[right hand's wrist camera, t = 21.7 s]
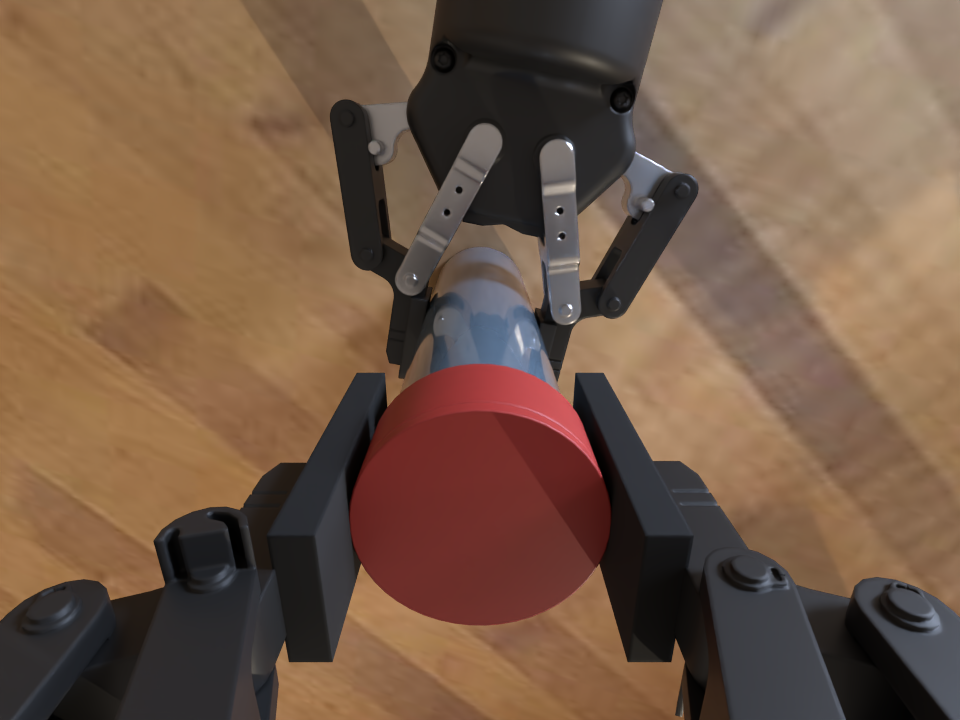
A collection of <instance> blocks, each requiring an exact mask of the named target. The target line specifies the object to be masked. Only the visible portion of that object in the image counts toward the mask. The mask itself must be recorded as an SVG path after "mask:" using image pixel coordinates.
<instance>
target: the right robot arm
mask: <svg viewBox="0 0 960 720" xmlns="http://www.w3.org/2000/svg"><path fill="white" fill-rule="evenodd" d="M386 409H387V397H386V383H385V373H357V374H356V375H355V377H354V379H353V381H352V383H351V384H350V386H349V388H348V390H347V392H346V393H345V395H344V397H343V399H342V401H341V402H340V404H339V406H338V408H337V409H336V411H335V413H334V415H333V417H332V418H331V420H330V422H329V424H328V426H327V427H326V429H325V431H324V433H323V435H322V436H321V438H320V440H319V442H318V444H317V445H316V447H315V449H314V451H313V453H312V454H311V456H310V458H309V460H308V462H307V463H280V464H278V465H277V466H276V467H274V468H273V469H272V470H270V471H269V472H267V473H266V474H265V475H263V476H262V478H261V479H260V481H259V482H258V484H257V485H256V487H255V488H254V490H253V491H252V495H250V496H249V497H248V499H247V500H246V501H245V503H244V507H243V508H241V509H240V510H237V509H233V508H229V507H210V508H206V509H202V510H198V511H194V512H191V513H189V514H187V515H184V516H182V517H180V518H178V519H176V520H174V521H173V522H172V523H170V524H169V525H168V526H166V527H165V528H164V529H162V530H161V532H160V533H159V534H158V536H157V537H156V538H155V540H154V545H155V549H156V552H157V556H158V559H159V563H160V567H161V570H162V574H163V577H164V581H165V586H164V587H163V588H160V589H156V590H153V591H149V592H145V593H141V594H136V595H132V596H128V597H123V598H119V599H115V600H111V601H110V598H109V595H108V592H107V589H106V588H105V587H104V586H103V585H102V584H101V583H99V582H98V581H92V580H85V579H83V580H76V581H69V582H64V583H61V584H58V585H55V586H52V587H50V588H47V589H44V590H42V591H41V592H39V593H37V594H35V595H33V596H31V597H30V598H28V599H26V600H24V601H23V602H22V603H20V604H19V605H18V606H17V607H16V608H14V609H13V610H12V611H11V612H9V613H8V614H7V615H6V616H5V617H4V618H3V619H2V620H1V621H0V720H275V719H276V708H277V697H278V686H279V683H278V676H277V670H276V665H275V663H276V661H277V658H278V656H279V653H280V651H281V648H282V646H283V643H284V641H285V642H286V648H287V653H288V659H289V662H333V658H334V655H335V651H336V648H337V645H338V641H339V638H340V634H341V631H342V627H343V624H344V620H345V617H346V613H347V610H348V607H349V603H350V600H351V596H352V593H353V589H354V586H355V582H356V579H357V575H358V572H359V568H360V565H361V562H360V560H359V558H358V556H357V554H356V551H355V549H354V546H353V543H352V538H351V532H350V522H349V504H350V499H351V495H352V491H353V487H354V485H355V482H356V480H357V477H358V474H359V472H360V469H361V466H362V464H363V461H364V458H365V456H366V453H367V450H368V448H369V445H370V442H371V440H372V437H373V434H374V432H375V429H376V427H377V425H378V422H379V420H380V418H381V417H382V415H383V413H384V412H385V410H386ZM573 409H574V410H575V411H576V413H577V414H578V416H579V418H580V420H581V422H582V424H583V426H584V429H585V431H586V434H587V436H588V439H589V442H590V444H591V447H592V450H593V452H594V455H595V458H596V460H597V463H598V466H599V468H600V471H601V474H602V476H603V479H604V482H605V484H606V487H607V490H608V493H609V498H610V503H611V526H610V535H609V540H608V543H607V547H606V550H605V552H604V554H603V557H602V559H601V561H600V563H599V564H600V567H601V571H602V574H603V578H604V581H605V585H606V588H607V592H608V595H609V599H610V602H611V605H612V609H613V612H614V616H615V619H616V623H617V626H618V630H619V633H620V637H621V640H622V643H623V647H624V650H625V654H626V657H627V661H628V662H671V661H672V655H673V650H674V644H675V638H676V640H677V642H678V645H679V647H680V650H681V652H682V655H683V657H684V660H685V665H684V670H683V675H682V681H681V686H680V691H679V696H678V701H677V707H676V714H675V715H676V716H680V717H682V715H683V710H684V718H685V720H960V617H959V616H958V615H957V614H956V613H955V612H954V611H952V610H951V609H950V608H949V607H947V606H946V605H945V604H944V603H942V602H941V601H940V600H939V599H937V598H936V597H934V596H932V595H930V594H928V593H927V592H925V591H923V590H921V589H919V588H917V587H915V586H912V585H909V584H906V583H903V582H901V581H898V580H893V579H886V578H879V577H875V578H868V579H863V580H862V581H860V582H859V583H858V584H857V585H855V587H854V590H853V593H852V596H851V598H846V597H842V596H838V595H833V594H829V593H825V592H820V591H816V590H812V589H808V588H805V587H801V586H798V585H795V583H794V581H793V580H792V578H791V577H790V575H789V574H788V572H787V571H786V570H785V569H784V568H783V567H781V566H780V565H779V564H778V563H777V562H775V561H774V560H772V559H770V558H768V557H766V556H765V555H763V554H761V553H759V552H756V551H752V550H749V549H748V548H747V546H746V545H745V543H744V542H743V540H742V539H741V537H740V536H739V534H738V533H737V531H736V530H735V528H734V527H733V525H732V524H731V522H730V521H729V519H728V518H727V517H726V515H725V514H724V512H723V511H722V509H721V508H720V506H717V502H716V500H715V499H714V497H713V496H712V494H711V493H709V492H708V488H707V487H706V485H705V484H704V482H703V481H702V479H701V478H700V477H699V475H698V474H697V473H695V472H694V471H693V470H691V469H690V468H688V467H687V466H686V465H684V464H683V463H682V462H680V461H652V459H651V457H650V456H649V454H648V452H647V450H646V448H645V447H644V445H643V443H642V441H641V439H640V438H639V436H638V434H637V432H636V430H635V429H634V427H633V425H632V423H631V421H630V420H629V418H628V416H627V414H626V412H625V411H624V409H623V407H622V405H621V404H620V402H619V400H618V398H617V396H616V395H615V393H614V391H613V389H612V387H611V386H610V384H609V382H608V380H607V378H606V377H605V375H604V373H575V387H574V401H573Z"/></svg>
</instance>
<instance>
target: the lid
mask: <svg viewBox="0 0 960 720" xmlns="http://www.w3.org/2000/svg"><path fill="white" fill-rule="evenodd" d="M349 522H350V532H351V538H352V543H353V546H354V549H355V551H356V554H357V556H358V558H359V560H360V562H361V564H362V565H363V567H364V569H365V570H366V572H367V573H368V574H369V575H370V577H371V578H372V579H373V581H374V582H375V583H376V584H377V585H378V586H379V587H380V588H381V589H382V590H383V591H384V592H386V593H387V594H388V595H389V596H391V597H392V598H393V599H395V600H396V601H397V602H399V603H401V604H403V605H404V606H406V607H408V608H409V609H411V610H414V611H416V612H418V613H420V614H422V615H425V616H428V617H431V618H434V619H437V620H441V621H445V622H450V623H455V624H464V625H497V624H505V623H510V622H516V621H519V620H523V619H526V618H530V617H533V616H535V615H538V614H540V613H542V612H545V611H547V610H549V609H551V608H553V607H554V606H556V605H558V604H560V603H561V602H563V601H564V600H565V599H567V598H568V597H570V596H571V595H572V594H573V593H575V592H576V591H577V590H578V589H579V588H580V587H581V586H582V585H583V584H584V583H585V582H586V581H587V580H588V578H589V577H590V576H591V575H592V574H593V572H594V570H595V569H596V567H597V566H598V564H599V563H600V561H601V559H602V557H603V554H604V552H605V550H606V547H607V543H608V540H609V535H610V526H611V503H610V498H609V493H608V490H607V487H606V484H605V482H604V479H603V476H602V474H601V471H600V468H599V466H598V463H597V460H596V458H595V455H594V452H593V450H592V447H591V444H590V442H589V439H588V436H587V434H586V431H585V429H584V426H583V424H582V422H581V420H580V418H579V416H578V414H577V413H576V411H575V410H574V409H573V407H572V406H571V405H570V403H569V402H568V401H567V400H566V399H565V398H564V397H563V396H562V395H561V394H560V393H559V392H558V391H557V390H555V389H554V388H553V387H552V386H550V385H549V384H548V383H546V382H544V381H542V380H541V379H539V378H537V377H535V376H533V375H531V374H528V373H526V372H524V371H521V370H518V369H514V368H510V367H507V366H501V365H494V364H467V365H459V366H454V367H450V368H446V369H442V370H440V371H437V372H434V373H431V374H429V375H427V376H425V377H423V378H421V379H419V380H418V381H416V382H415V383H413V384H412V385H410V386H409V387H407V388H406V389H405V390H404V391H402V392H401V393H400V394H399V395H398V396H397V397H396V398H395V399H394V400H393V401H392V403H391V404H390V405H389V406H388V407H387V409H386V410H385V412H384V413H383V415H382V417H381V418H380V420H379V422H378V425H377V427H376V429H375V432H374V434H373V437H372V440H371V442H370V445H369V448H368V450H367V453H366V456H365V458H364V461H363V464H362V466H361V469H360V472H359V474H358V477H357V480H356V482H355V485H354V487H353V491H352V495H351V499H350V504H349Z"/></svg>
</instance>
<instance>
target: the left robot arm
mask: <svg viewBox="0 0 960 720" xmlns="http://www.w3.org/2000/svg"><path fill="white" fill-rule="evenodd" d="M662 2H663V0H437V3H436V10H435V17H434V24H433V31H432V38H431V45H430V52H429V58H428V62H427V66H426V69H425V71H424V74H423V76H422V78H421V80H420V81H419V83H418V84H417V86H416V87H415V88H414V90H413V91H412V93H411V94H410V96H409V99H408V102H399V103H385V104H372V105H361V104H359V103H356V102H354V101H351V100H340V101H338V102H337V103H335V104H334V106H333V107H332V109H331V112H330V122H331V129H332V135H333V142H334V148H335V154H336V161H337V167H338V174H339V180H340V187H341V193H342V200H343V206H344V213H345V219H346V226H347V232H348V239H349V245H350V252H351V257H352V260H353V262H354V264H355V265H356V266H357V267H358V268H360V269H362V270H367V271H369V270H371V271H372V272H374V273H376V274H378V275H379V276H381V277H383V278H384V279H386V280H387V281H388V282H389V283H390V285H391V286H392V288H393V292H394V300H393V307H392V314H391V321H390V329H389V335H388V342H387V349H386V353H387V356H388V360H389V363H392V364H397V365H400V370H399V378H402V379H405V376H406V373H407V370H408V367H409V364H410V361H411V358H412V355H413V352H414V349H415V346H416V343H417V340H418V337H419V334H420V331H421V328H422V325H423V322H424V319H425V316H426V313H427V310H428V307H429V304H430V299H431V293H432V287H428V283H429V279H430V277H431V275H432V273H433V271H434V269H435V268H436V266H437V264H438V262H439V260H440V259H441V257H442V255H443V253H444V251H445V250H446V248H447V246H448V245H449V243H450V241H451V239H452V238H453V236H454V234H455V232H456V230H457V228H458V227H459V225H460V223H461V221H462V219H463V221H462V222H467V223H472V224H477V225H481V226H484V225H499V224H504V225H506V226H508V227H510V228H512V229H514V230H516V231H518V232H520V233H522V234H526V235H531V236H536V237H538V246H539V254H540V259H541V268H542V279H543V290H544V299H543V303H542V307H541V309H539V308H535V313H534V315H535V318H536V321H537V324H538V327H539V330H540V333H541V336H542V339H543V342H544V345H545V348H546V351H547V354H548V357H549V360H550V363H551V366H552V369H553V372H554V375H555V378H556V381H557V382H558V378H559V374H560V370H561V367H562V363H563V360H564V356H565V352H566V349H567V345H568V341H569V338H570V334H571V331H572V329H573V327H574V326H575V324H576V323H577V322H579V321H580V320H582V319H585V318H590V317H596V316H605V317H606V318H610V319H615V318H618V317H620V316H622V315H623V314H624V313H625V312H626V311H627V309H628V308H629V306H630V304H631V303H632V301H633V299H634V298H635V296H636V295H637V293H638V291H639V290H640V288H641V286H642V285H643V283H644V281H645V280H646V278H647V277H648V275H649V273H650V272H651V270H652V268H653V267H654V265H655V264H656V262H657V260H658V259H659V257H660V255H661V254H662V252H663V251H664V249H665V247H666V246H667V244H668V242H669V241H670V239H671V238H672V236H673V234H674V233H675V231H676V229H677V228H678V226H679V225H680V223H681V221H682V220H683V218H684V216H685V215H686V213H687V211H688V210H689V208H690V207H691V205H692V203H693V202H694V200H695V198H696V197H697V194H698V183H697V181H696V179H695V178H694V177H693V176H691V175H689V174H684V173H681V172H673V171H669V170H668V169H666V168H664V167H662V166H660V165H659V164H657V163H655V162H653V161H651V160H650V159H648V158H646V157H644V156H643V155H641V154H639V153H637V152H635V151H636V140H635V136H634V131H633V123H632V116H633V108H634V103H635V100H636V97H637V93H638V89H639V86H640V82H641V79H642V75H643V71H644V68H645V64H646V60H647V57H648V53H649V49H650V46H651V42H652V38H653V35H654V31H655V28H656V24H657V20H658V17H659V13H660V9H661V6H662ZM407 131H411V132H412V134H413V137H414V139H415V141H416V143H417V145H418V147H419V150H420V152H421V154H422V156H423V158H424V160H425V162H426V165H427V167H428V169H429V171H430V173H431V175H432V177H433V180H434V182H435V184H436V186H437V188H438V190H439V192H438V194H437V196H436V198H435V200H434V202H433V204H432V206H431V208H430V210H429V211H428V213H427V215H426V217H425V219H424V221H423V223H422V225H421V227H420V229H419V231H418V233H417V235H416V237H415V239H414V241H413V243H412V245H411V247H410V249H407V248H405V247H403V246H402V245H400V244H398V243H397V242H395V241H393V240H392V239H391V231H390V223H389V215H388V207H387V199H386V191H385V183H384V175H383V167H382V165H385V164H389V163H391V162H392V161H393V160H394V159H395V157H396V155H397V150H398V141H399V139H400V137H401V136H402V135H403V134H404V133H405V132H407ZM620 177H621V178H622V179H623V181H624V184H625V192H624V195H623V197H622V202H621V204H622V209H623V211H624V212H625V213H626V214H627V215H628V217H627V218H626V220H625V222H624V223H623V225H622V227H621V229H620V230H619V232H618V234H617V236H616V237H615V239H614V241H613V243H612V244H611V246H610V248H609V250H608V251H607V253H606V255H605V256H604V258H603V260H602V262H601V263H600V265H599V267H598V269H597V270H596V272H595V274H594V276H593V277H592V279H591V280H585V281H579V264H580V251H579V235H578V220H577V216H578V215H579V214H580V213H581V212H582V211H583V210H584V209H585V208H586V207H588V206H589V205H590V204H591V203H592V202H593V201H594V200H595V199H596V198H598V197H599V196H600V195H601V194H602V193H603V192H604V191H605V190H606V189H608V188H609V187H610V186H611V185H612V184H613V183H614V182H615V181H616V180H618V179H619V178H620Z"/></svg>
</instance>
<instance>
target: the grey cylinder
mask: <svg viewBox="0 0 960 720" xmlns="http://www.w3.org/2000/svg"><path fill="white" fill-rule="evenodd" d="M467 364H494V365H501V366H507V367H510V368H514V369H518V370H521V371H524V372H526V373H528V374H531V375H533V376H535V377H537V378H539V379H541V380H542V381H544V382H546V383H548V384H549V385H550V386H552V387H553V388H554V389H555V390H557V391H558V392H559V393H560V390H559V387H558V384H557V381H556V378H555V375H554V372H553V369H552V366H551V363H550V360H549V357H548V354H547V351H546V348H545V345H544V342H543V339H542V336H541V333H540V330H539V327H538V324H537V321H536V318H535V315H534V312H533V309H532V306H531V303H530V300H529V297H528V294H527V291H526V288H525V285H524V282H523V279H522V276H521V273H520V271H519V269H518V268H517V266H516V265H515V263H514V262H513V261H512V260H511V259H510V258H509V257H508V256H506V255H505V254H503V253H502V252H500V251H498V250H495V249H492V248H487V247H473V248H468V249H465V250H463V251H461V252H459V253H457V254H455V255H454V256H453V257H451V258H450V259H449V260H448V261H447V263H446V264H445V265H444V267H443V268H442V270H441V272H440V274H439V277H438V280H437V283H436V286H435V289H434V292H433V295H432V298H431V301H430V304H429V307H428V310H427V313H426V316H425V319H424V322H423V325H422V328H421V331H420V334H419V337H418V340H417V343H416V346H415V349H414V352H413V355H412V358H411V361H410V364H409V367H408V370H407V373H406V376H405V379H404V382H403V385H402V388H401V391H400V393H401V392H402V391H404V390H405V389H406V388H407V387H409V386H410V385H412V384H413V383H415V382H416V381H418V380H419V379H421V378H423V377H425V376H427V375H429V374H431V373H434V372H437V371H440V370H442V369H446V368H450V367H454V366H459V365H467ZM560 394H561V393H560Z"/></svg>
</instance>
